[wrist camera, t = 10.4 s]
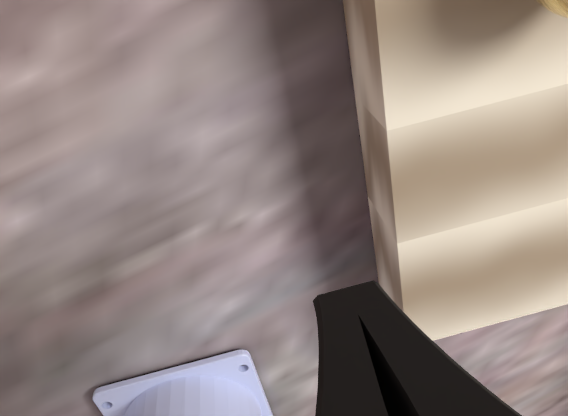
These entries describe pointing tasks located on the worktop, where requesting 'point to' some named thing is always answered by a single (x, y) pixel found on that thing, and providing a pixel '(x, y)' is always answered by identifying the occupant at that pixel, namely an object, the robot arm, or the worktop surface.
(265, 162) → the worktop surface
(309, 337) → the worktop surface
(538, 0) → the brass ball
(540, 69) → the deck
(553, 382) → the worktop surface
